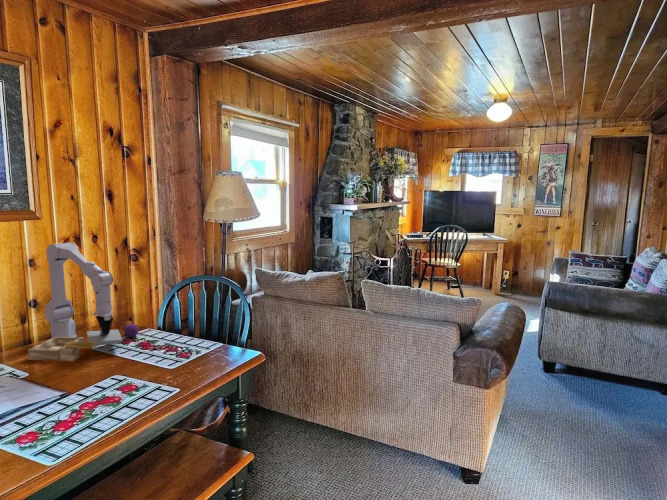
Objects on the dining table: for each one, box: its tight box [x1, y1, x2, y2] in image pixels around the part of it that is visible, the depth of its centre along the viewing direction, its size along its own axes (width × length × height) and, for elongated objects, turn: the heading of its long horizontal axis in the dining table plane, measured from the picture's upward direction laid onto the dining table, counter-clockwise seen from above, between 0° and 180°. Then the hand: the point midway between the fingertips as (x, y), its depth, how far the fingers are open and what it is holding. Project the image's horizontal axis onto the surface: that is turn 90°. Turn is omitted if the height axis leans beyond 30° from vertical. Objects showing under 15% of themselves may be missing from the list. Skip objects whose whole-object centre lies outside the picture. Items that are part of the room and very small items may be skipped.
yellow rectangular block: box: [65, 340, 96, 349], centre depth 169 cm, size 3×10×2 cm, turn 87°
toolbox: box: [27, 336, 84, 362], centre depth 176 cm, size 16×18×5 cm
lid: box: [86, 326, 123, 346], centre depth 180 cm, size 16×12×6 cm
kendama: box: [123, 320, 139, 338], centre depth 203 cm, size 6×6×20 cm
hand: (105, 333), depth 180 cm, fingers closed on lid, 3 cm apart
